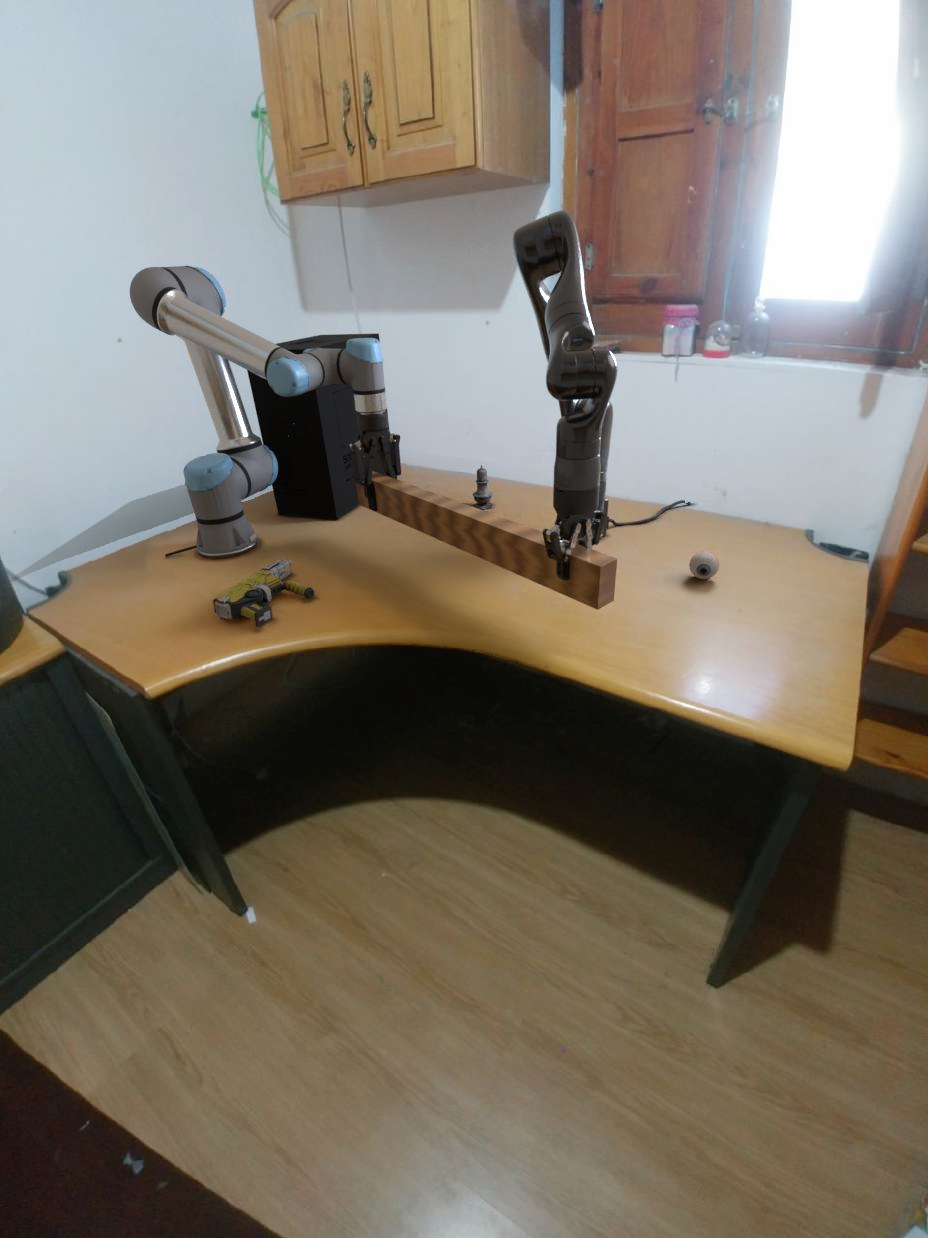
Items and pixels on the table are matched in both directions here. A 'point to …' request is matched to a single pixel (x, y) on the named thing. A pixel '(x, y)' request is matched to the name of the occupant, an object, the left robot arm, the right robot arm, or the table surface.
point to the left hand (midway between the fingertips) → (382, 507)
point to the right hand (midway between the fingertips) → (572, 573)
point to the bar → (495, 540)
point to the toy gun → (258, 594)
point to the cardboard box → (312, 439)
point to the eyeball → (704, 564)
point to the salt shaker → (482, 490)
